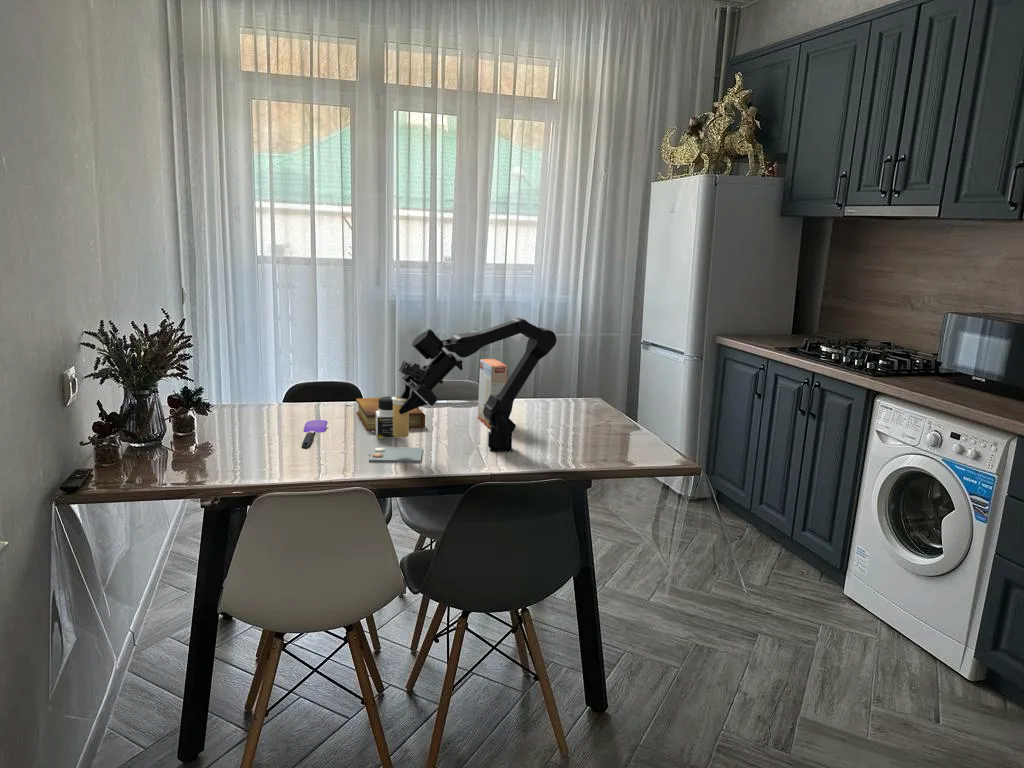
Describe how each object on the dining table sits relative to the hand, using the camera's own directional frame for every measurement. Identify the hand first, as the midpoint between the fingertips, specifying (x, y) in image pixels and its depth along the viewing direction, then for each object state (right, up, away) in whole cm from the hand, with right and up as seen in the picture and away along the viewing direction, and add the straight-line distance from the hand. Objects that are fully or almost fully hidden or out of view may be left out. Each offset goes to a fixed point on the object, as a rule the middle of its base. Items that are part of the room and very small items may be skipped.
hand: (397, 410), depth 194 cm
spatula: (-29, -9, +17) cm, 35 cm away
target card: (-1, -13, +3) cm, 13 cm away
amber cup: (0, -7, +2) cm, 7 cm away
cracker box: (+25, -6, +42) cm, 49 cm away
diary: (-9, -5, +40) cm, 41 cm away
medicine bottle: (-7, -9, +22) cm, 25 cm away
